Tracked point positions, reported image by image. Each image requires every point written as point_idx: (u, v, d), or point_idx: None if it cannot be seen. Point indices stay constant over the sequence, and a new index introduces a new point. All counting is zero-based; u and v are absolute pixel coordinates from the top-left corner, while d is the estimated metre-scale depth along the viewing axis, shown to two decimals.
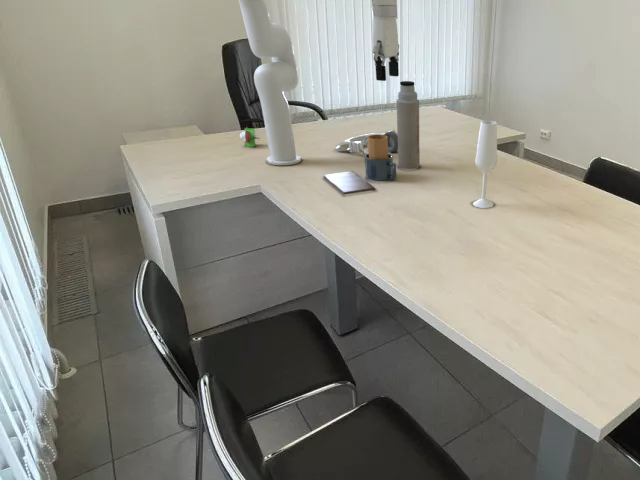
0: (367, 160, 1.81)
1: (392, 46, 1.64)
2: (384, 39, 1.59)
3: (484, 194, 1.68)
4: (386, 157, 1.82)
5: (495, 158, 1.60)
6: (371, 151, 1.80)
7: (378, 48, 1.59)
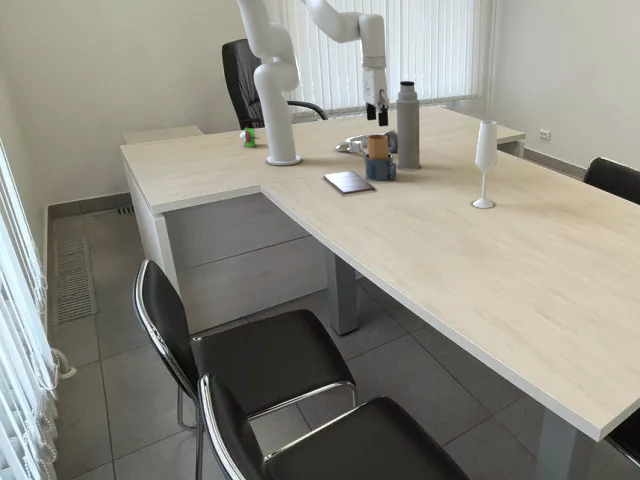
0: (367, 160, 1.81)
1: None
2: (386, 87, 1.67)
3: (484, 194, 1.68)
4: (386, 157, 1.82)
5: (495, 158, 1.60)
6: (371, 151, 1.80)
7: None
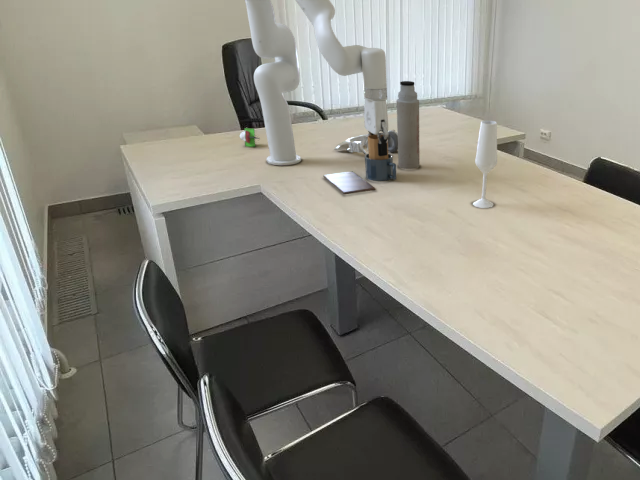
0: (367, 160, 1.81)
1: None
2: (387, 118, 1.73)
3: (484, 194, 1.68)
4: (386, 157, 1.82)
5: (495, 158, 1.60)
6: (371, 151, 1.80)
7: None
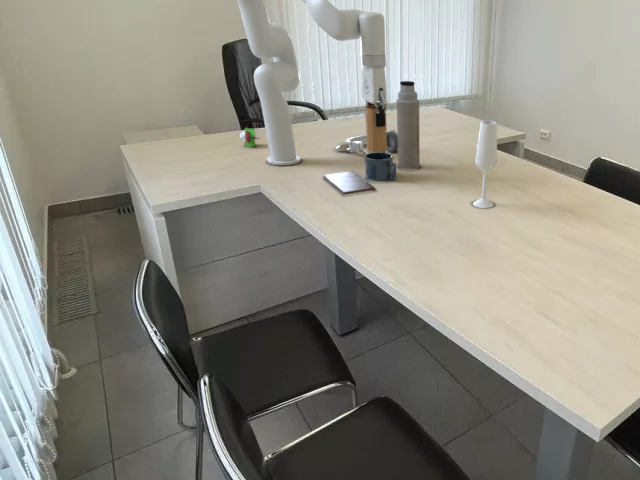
0: (367, 160, 1.81)
1: None
2: (385, 86, 1.67)
3: (484, 194, 1.68)
4: (384, 128, 1.77)
5: (495, 158, 1.60)
6: (369, 122, 1.75)
7: None
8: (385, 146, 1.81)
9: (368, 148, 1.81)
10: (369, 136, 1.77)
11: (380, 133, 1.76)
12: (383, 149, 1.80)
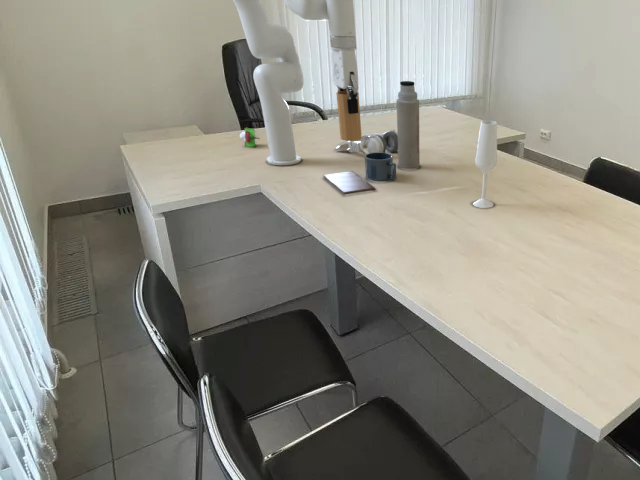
0: (367, 160, 1.81)
1: None
2: (356, 70, 1.57)
3: (484, 194, 1.68)
4: (358, 116, 1.67)
5: (495, 158, 1.60)
6: (340, 108, 1.64)
7: None
8: (359, 135, 1.70)
9: (341, 137, 1.70)
10: (341, 124, 1.67)
11: (353, 120, 1.66)
12: (357, 138, 1.70)
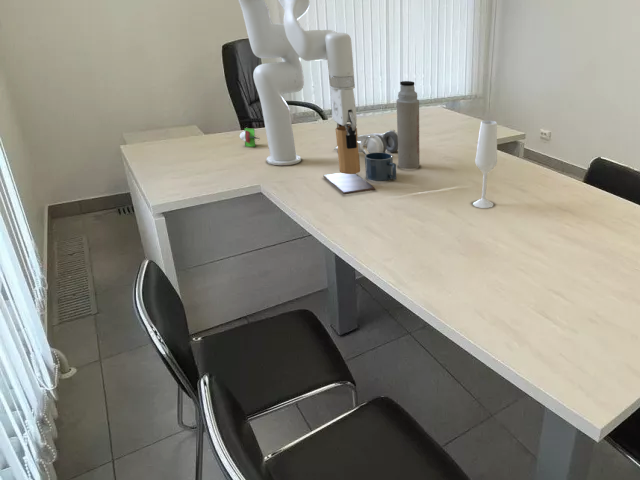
0: (367, 160, 1.81)
1: None
2: (354, 108, 1.63)
3: (484, 194, 1.68)
4: (356, 150, 1.72)
5: (495, 158, 1.60)
6: (339, 143, 1.70)
7: None
8: (358, 168, 1.76)
9: (340, 170, 1.76)
10: (340, 158, 1.72)
11: (352, 155, 1.72)
12: (355, 171, 1.75)
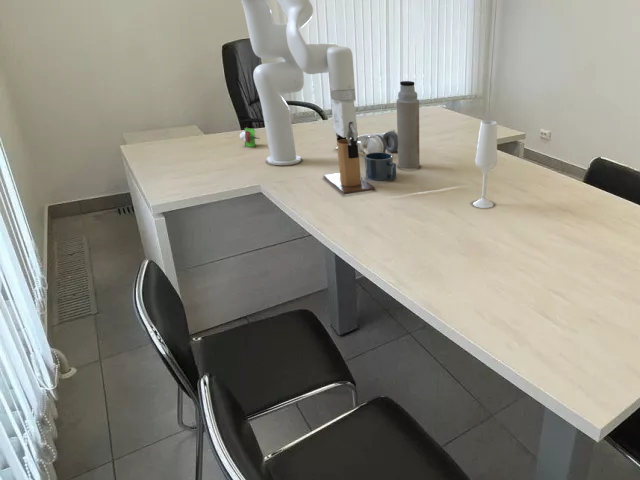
0: (367, 160, 1.81)
1: None
2: (355, 120, 1.65)
3: (484, 194, 1.68)
4: (357, 163, 1.74)
5: (495, 158, 1.60)
6: (340, 156, 1.72)
7: None
8: (358, 180, 1.78)
9: (341, 182, 1.78)
10: (342, 170, 1.75)
11: (352, 167, 1.74)
12: (356, 183, 1.78)
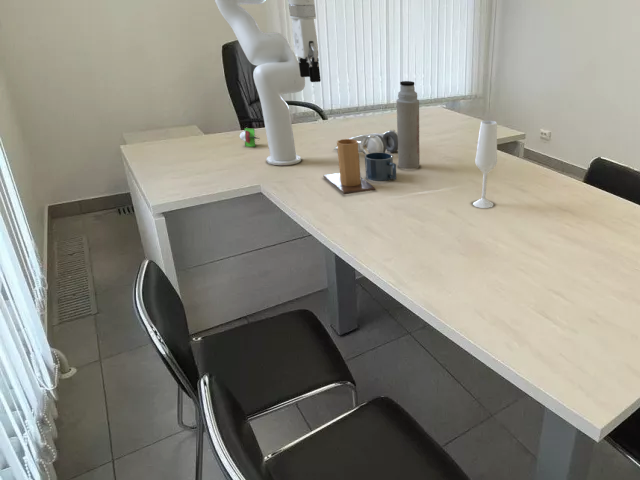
0: (367, 160, 1.81)
1: None
2: (316, 39, 1.58)
3: (484, 194, 1.68)
4: (357, 163, 1.74)
5: (495, 158, 1.60)
6: (340, 156, 1.72)
7: None
8: (358, 180, 1.78)
9: (341, 182, 1.78)
10: (342, 170, 1.75)
11: (352, 167, 1.74)
12: (356, 183, 1.78)
